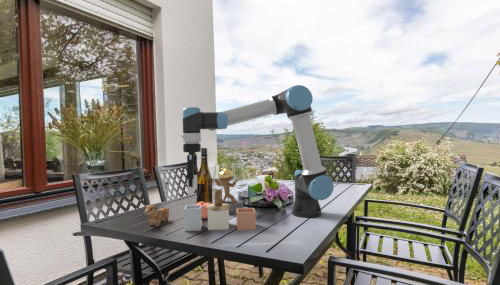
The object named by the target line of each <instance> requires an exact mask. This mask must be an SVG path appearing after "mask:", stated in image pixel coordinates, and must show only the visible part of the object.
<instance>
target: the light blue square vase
mask: <svg viewBox="0 0 500 285" xmlns="http://www.w3.org/2000/svg"><path fill="white" fill-rule="evenodd" d="M183 227H184V228H183V230H184V231H183V232H191V231H198V232H199V231H201V230H202V227H203V218H202V205H195V204H191V205H190V204H189V205H185V206H184V208H183Z"/></svg>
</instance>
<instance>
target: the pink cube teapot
mask: <svg viewBox="0 0 500 285" xmlns="http://www.w3.org/2000/svg"><path fill="white" fill-rule="evenodd" d="M209 204H211V202H204V201H200V202H197V203H195V204H194V205H202V219H208V209H207V205H209Z"/></svg>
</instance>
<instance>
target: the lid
mask: <svg viewBox="0 0 500 285" xmlns="http://www.w3.org/2000/svg"><path fill="white" fill-rule="evenodd" d="M213 197H214V203H210V204H209V205H207V209H208V210H212V211H221V210H227V209H229V208H230V205H229V204H226V203H222V200H223V189H222V188H221V189H220V188H219V189H214V195H213Z"/></svg>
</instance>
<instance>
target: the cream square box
mask: <svg viewBox="0 0 500 285" xmlns="http://www.w3.org/2000/svg"><path fill="white" fill-rule="evenodd" d="M229 221H230V215H229V209H227V210H221V211H212V210H208V218H207V230H208V231H219V230H220V231H221V230H229V229H230V222H229Z"/></svg>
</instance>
